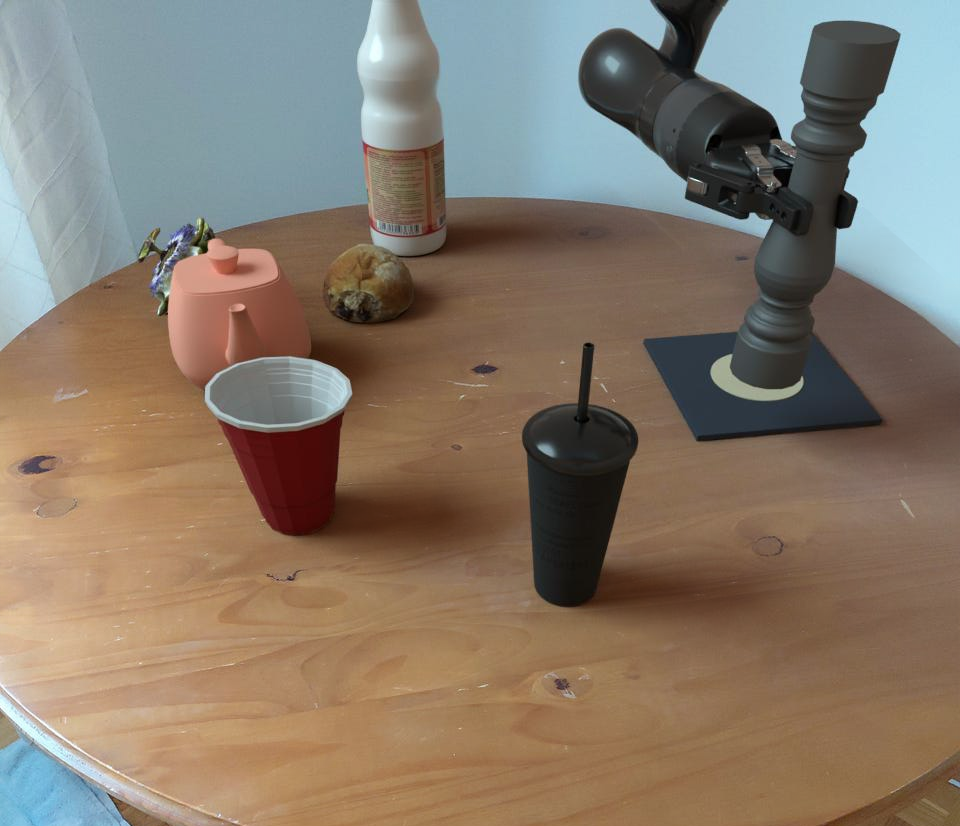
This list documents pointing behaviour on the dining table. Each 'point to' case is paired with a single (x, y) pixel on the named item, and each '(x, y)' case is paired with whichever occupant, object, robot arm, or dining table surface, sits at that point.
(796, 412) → the placemat
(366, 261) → the bread roll
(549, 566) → the drinking cup
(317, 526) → the plastic cup
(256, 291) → the teapot
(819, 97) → the candle holder
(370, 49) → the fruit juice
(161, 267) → the passion flower
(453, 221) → the dining table surface
